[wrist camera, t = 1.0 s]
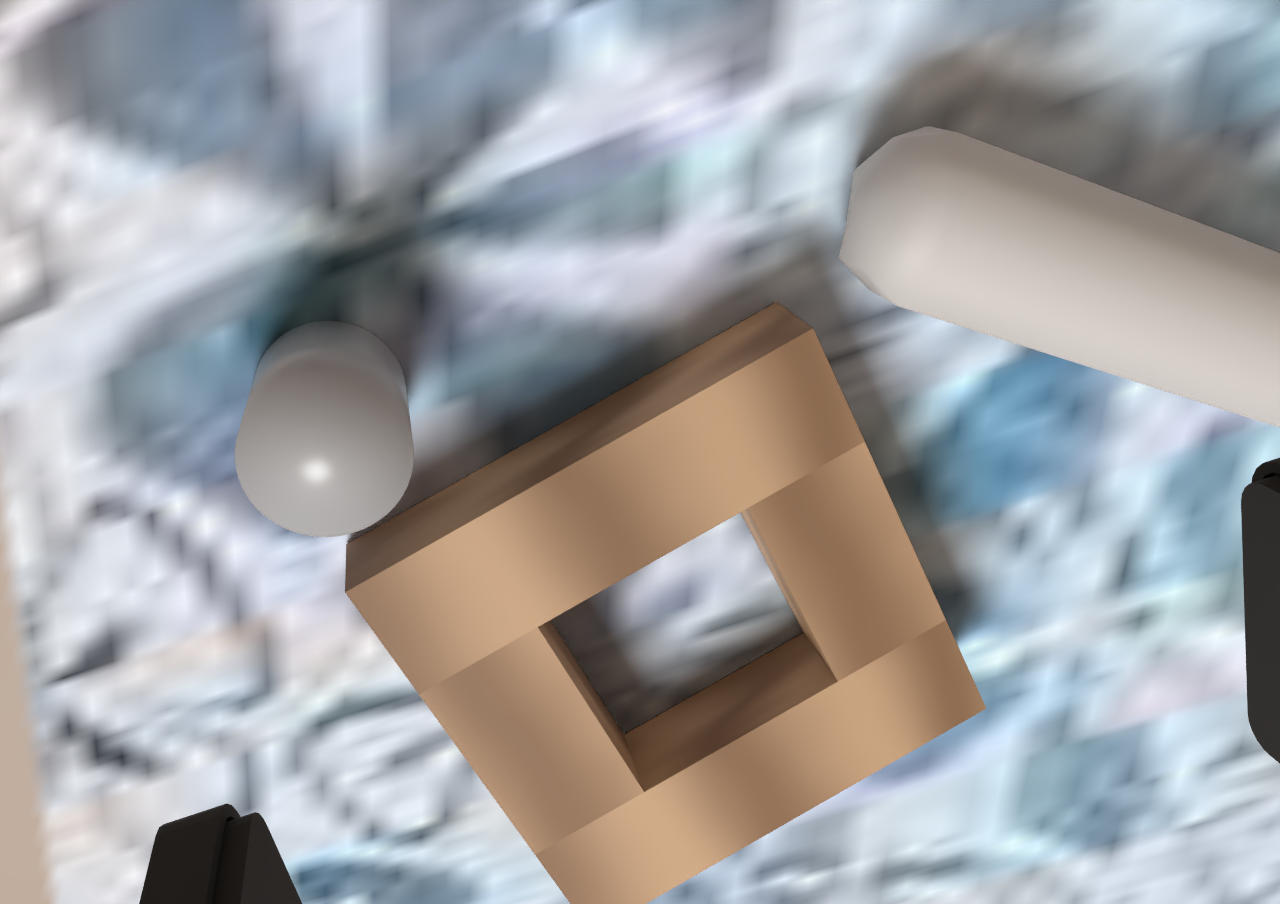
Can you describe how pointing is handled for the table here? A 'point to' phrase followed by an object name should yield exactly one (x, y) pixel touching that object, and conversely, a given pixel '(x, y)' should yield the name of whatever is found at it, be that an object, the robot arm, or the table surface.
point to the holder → (631, 539)
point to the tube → (1067, 269)
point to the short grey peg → (326, 431)
